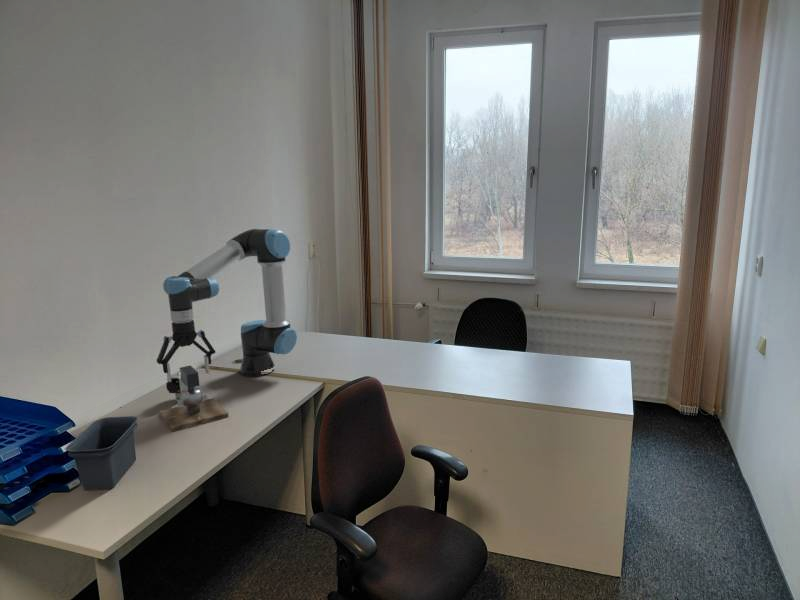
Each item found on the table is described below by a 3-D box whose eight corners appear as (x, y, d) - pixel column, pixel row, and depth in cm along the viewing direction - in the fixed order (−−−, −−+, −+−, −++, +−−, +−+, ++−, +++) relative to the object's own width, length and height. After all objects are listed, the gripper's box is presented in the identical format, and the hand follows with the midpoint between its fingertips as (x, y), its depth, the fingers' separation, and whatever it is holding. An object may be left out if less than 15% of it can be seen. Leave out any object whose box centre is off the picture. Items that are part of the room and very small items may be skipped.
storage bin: (117, 494, 157) (110, 448, 154) (61, 497, 157) (53, 450, 153) (147, 457, 178) (141, 415, 175) (98, 459, 177) (91, 417, 174)
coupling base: (213, 401, 221) (212, 389, 220) (228, 416, 206) (227, 404, 205) (160, 414, 210) (158, 402, 208) (172, 431, 195) (170, 418, 194)
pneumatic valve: (195, 394, 228) (192, 367, 226) (179, 406, 217) (175, 377, 214) (183, 394, 229) (179, 366, 227) (166, 405, 218) (162, 376, 215)
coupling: (202, 395, 214) (199, 363, 211) (210, 403, 206) (206, 370, 203) (174, 401, 208) (170, 369, 205) (181, 410, 200) (177, 377, 197)
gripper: (147, 328, 190) (155, 387, 194) (220, 317, 204) (225, 372, 208) (143, 324, 196) (150, 381, 200) (214, 313, 210) (219, 367, 214)
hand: (188, 376), depth 204 cm, fingers open, 13 cm apart
